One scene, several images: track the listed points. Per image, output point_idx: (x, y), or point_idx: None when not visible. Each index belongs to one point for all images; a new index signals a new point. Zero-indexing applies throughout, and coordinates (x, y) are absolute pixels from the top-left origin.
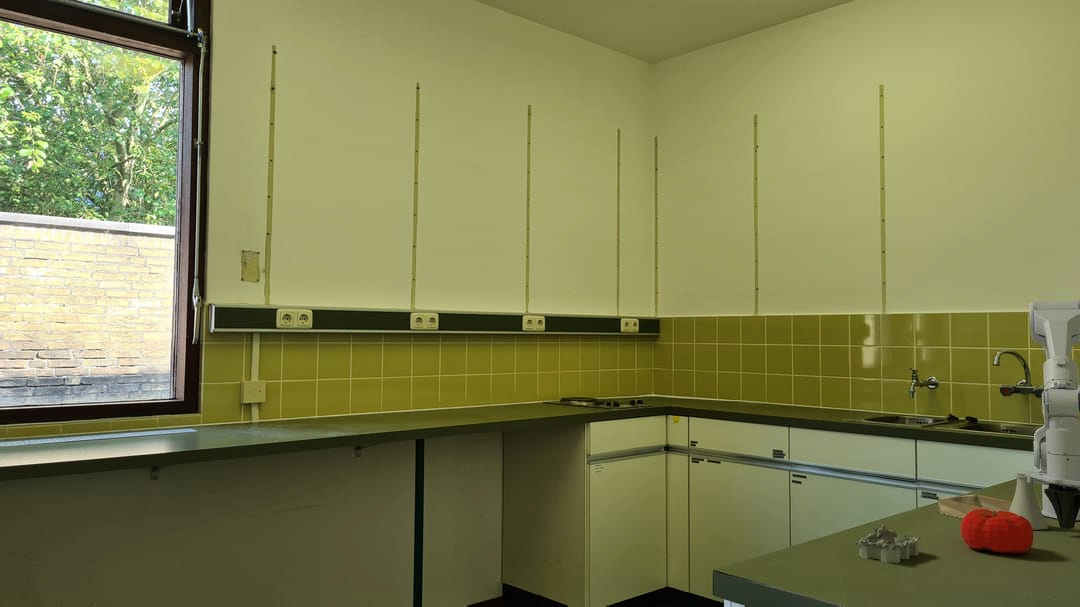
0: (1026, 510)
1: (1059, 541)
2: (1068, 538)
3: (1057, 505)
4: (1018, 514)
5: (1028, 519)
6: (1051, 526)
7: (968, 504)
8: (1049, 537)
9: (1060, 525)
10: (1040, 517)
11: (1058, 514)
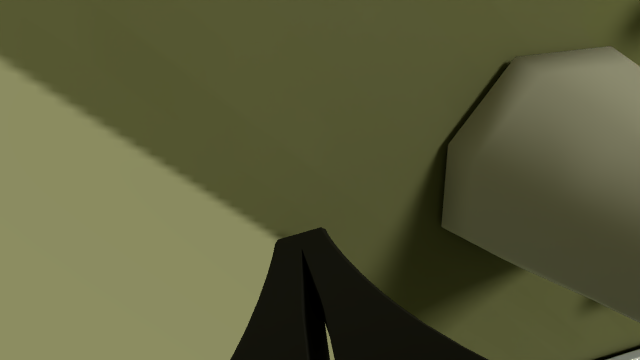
0: (592, 170)
1: (158, 81)
2: (238, 197)
3: (340, 330)
4: (606, 106)
5: (524, 142)
6: (490, 282)
7: None
8: (278, 99)
9: (315, 233)
10: (503, 232)
11: (333, 276)
